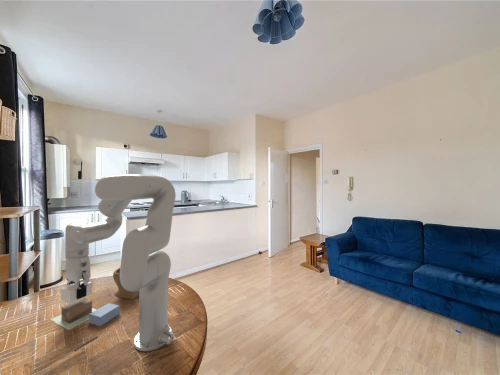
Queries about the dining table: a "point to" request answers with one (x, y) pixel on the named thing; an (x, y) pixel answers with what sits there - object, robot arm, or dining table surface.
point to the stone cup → (122, 291)
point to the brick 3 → (103, 314)
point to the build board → (73, 324)
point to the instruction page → (85, 344)
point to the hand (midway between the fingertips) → (76, 295)
